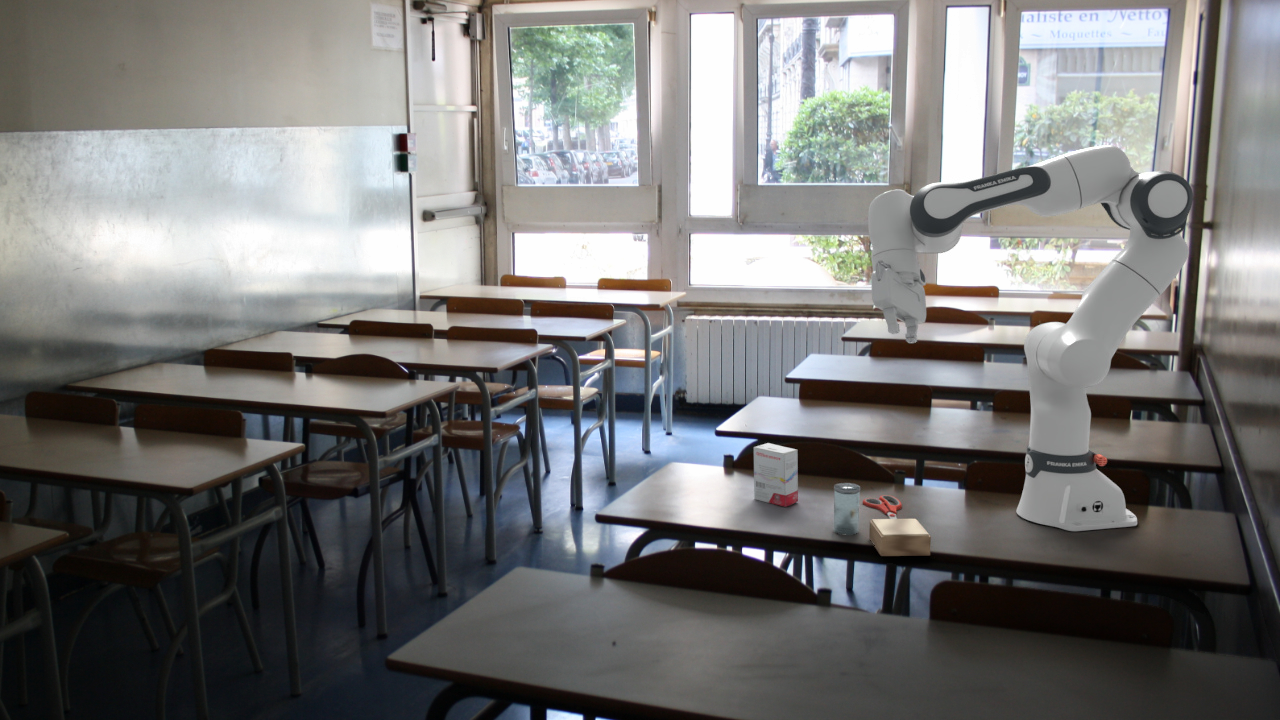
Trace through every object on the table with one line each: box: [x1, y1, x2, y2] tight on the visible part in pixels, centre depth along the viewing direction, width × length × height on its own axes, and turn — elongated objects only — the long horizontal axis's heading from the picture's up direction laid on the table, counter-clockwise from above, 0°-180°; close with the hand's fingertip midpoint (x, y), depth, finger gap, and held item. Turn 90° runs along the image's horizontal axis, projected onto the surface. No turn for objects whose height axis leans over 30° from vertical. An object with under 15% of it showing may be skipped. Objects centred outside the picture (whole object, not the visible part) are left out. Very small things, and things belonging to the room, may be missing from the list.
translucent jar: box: [832, 482, 861, 536], centre depth 196 cm, size 5×5×9 cm
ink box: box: [753, 442, 799, 508], centre depth 214 cm, size 9×5×12 cm, turn 44°
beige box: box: [868, 518, 932, 557], centre depth 187 cm, size 9×9×4 cm
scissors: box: [862, 494, 903, 519], centre depth 205 cm, size 8×21×2 cm, turn 8°
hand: (903, 337), depth 195 cm, fingers open, 8 cm apart
